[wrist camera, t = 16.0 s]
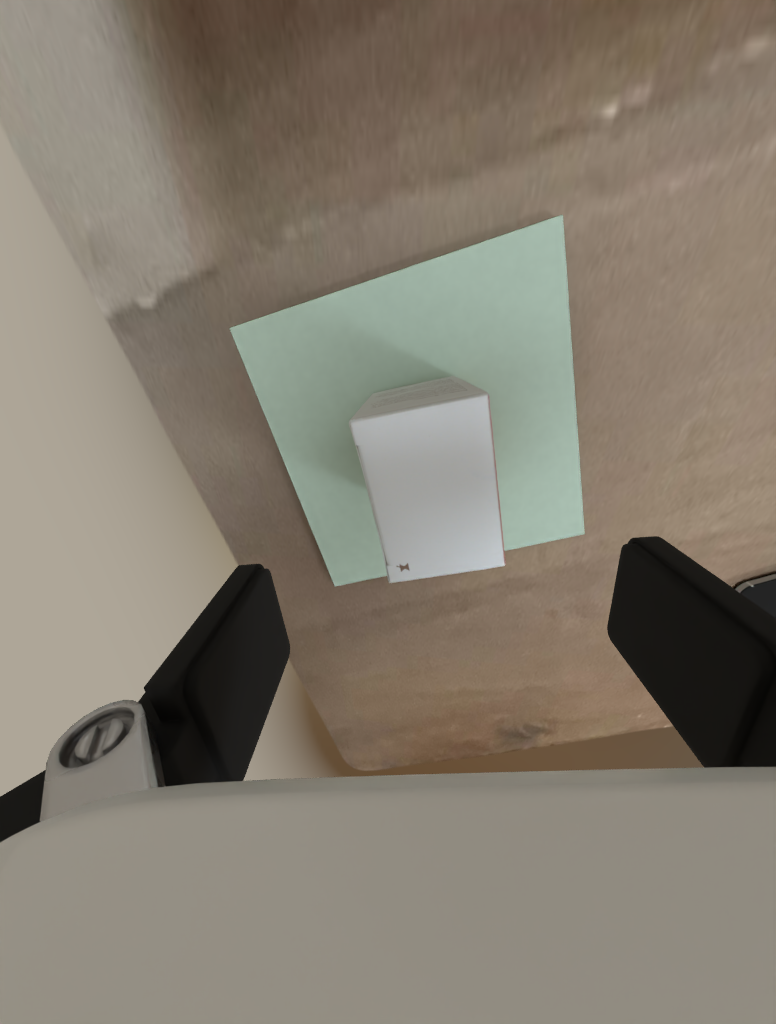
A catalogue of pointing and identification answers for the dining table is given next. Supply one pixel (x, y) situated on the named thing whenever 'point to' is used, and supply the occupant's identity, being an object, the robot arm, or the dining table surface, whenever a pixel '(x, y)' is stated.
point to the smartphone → (761, 592)
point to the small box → (431, 478)
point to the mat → (423, 357)
